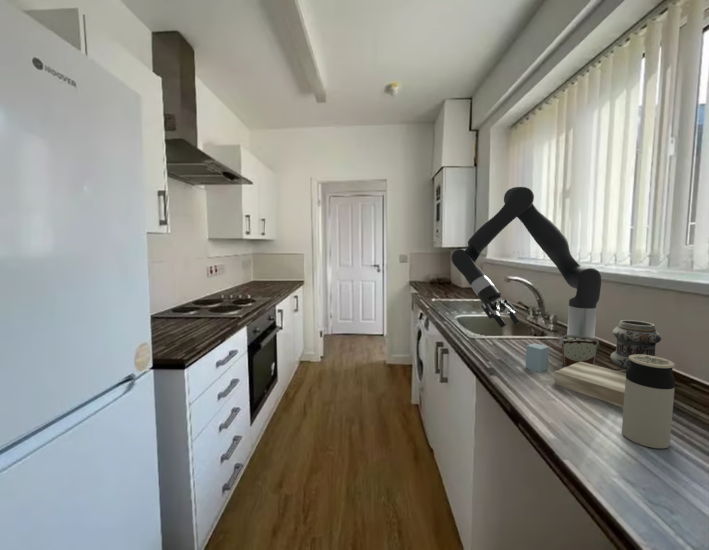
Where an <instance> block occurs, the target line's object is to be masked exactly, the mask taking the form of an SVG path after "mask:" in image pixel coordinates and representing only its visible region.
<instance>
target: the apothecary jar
mask: <svg viewBox="0 0 709 550" xmlns="http://www.w3.org/2000/svg"><path fill="white" fill-rule="evenodd" d="M612 335H613V336H614V337H615V338H616V345H615V347H616V348H615V351H613V352H612V353H611V354H610V360H611V361H612V363H613V364H614V365H616V366H618V367H619V368H621V369H620V370H617V371H618V372H622V373H626V370H627V368H628V367H629V366H630V365H631V363H630V359H629V356H630V355H635V354H641V355H650V356H656V345H657V344H658V343H660V342H661V341H662V335H661V334H660V333H659V332H658V331H657V329H656V326H655V324H654V323H651V322H647V321H643V320H642V321H641V320H634V319H633V320H632V319H622V320H619V324H618V326H615V327H614V328H613V330H612Z"/></svg>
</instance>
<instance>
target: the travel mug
mask: <svg viewBox="0 0 709 550" xmlns="http://www.w3.org/2000/svg"><path fill="white" fill-rule="evenodd" d="M629 359H630V363H631V365H630V366H629V367H628V368H627V370H626V369H625V370H626V381H625V395H624V408H623V411H622V412H623V413H622V423H621V425H622V426H621V433H622V434H623V435H624V437H626V439H628V440H630V441H632V442H633V443H636V444H637V445H641V446H643V447H647V448H652V449H667V448H669V447H670V444H671V435H672V422H673V421H672V420H673V411H674V400H675V399H674V398H675V387H676V378H675V377H674V374H673V373H672V371H673V368H675V366H676V364H675V363H674V362H673V361H671V360H669V359H666V358H663V357H660V356H656V355H655V356H650V355H641V354H635V355H630V356H629Z"/></svg>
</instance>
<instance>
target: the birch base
mask: <svg viewBox="0 0 709 550" xmlns="http://www.w3.org/2000/svg"><path fill="white" fill-rule="evenodd" d="M618 371H619V370H614V369H611V368H607V367H603V366H599V365H595V364H594V365H592V364H589V363H585V362H581V361H580V362H578V363H575V364H573V365H570V366H567V367H563V368H560V369H558V370H555V371H554V380H553V381H554V382H553V383H554V385H556V386H559V387H562V388H565V389H567V390H571V391H573V392H576V393H579V394H582V395H585V396H589V397H591V398H594V399H597V400H600V401H603V402H606V403H609V404H611V405H615V406H618V407H620V408H623V409H624V395H625V381H626V373H622V372H618Z"/></svg>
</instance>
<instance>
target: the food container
mask: <svg viewBox="0 0 709 550" xmlns="http://www.w3.org/2000/svg"><path fill="white" fill-rule="evenodd" d="M559 344H560V345H561V352H562V353H561V355H562V357H561V359H562V366H563V368H565V367H567V366H570V365H573V364H575V363H578V362H580V361H581V362H585V363H589V364H592V365H595V360H596V355H597V349H598V347H599V346H600V341H599V339H598V338H595V337H594V338H591V337H586V336H579V335H567V334H565V335H562V336H561V337H560V339H559Z"/></svg>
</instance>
